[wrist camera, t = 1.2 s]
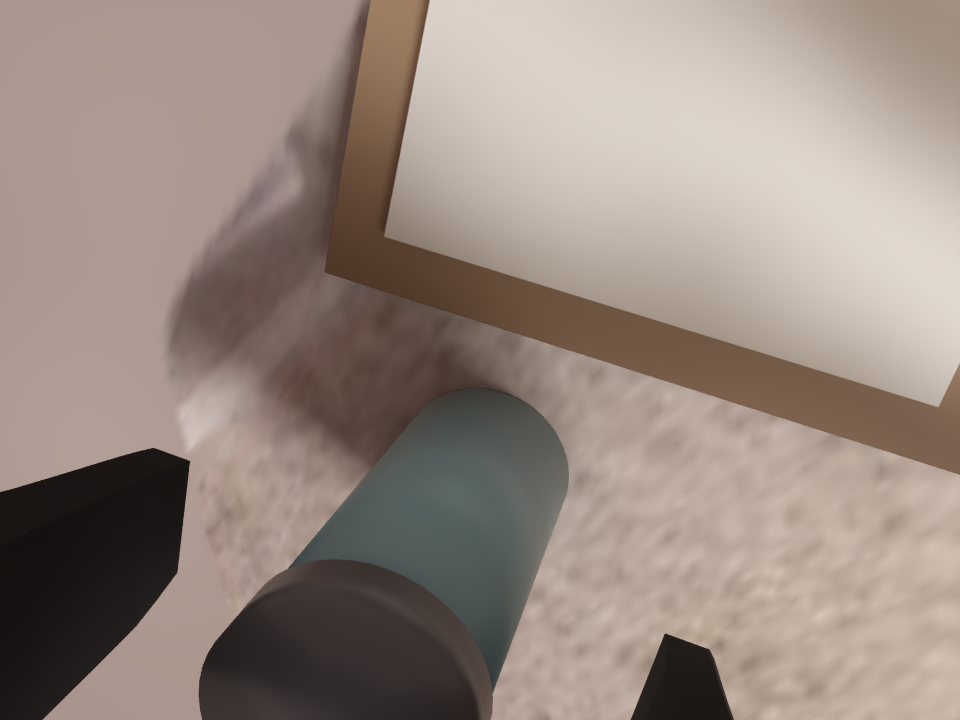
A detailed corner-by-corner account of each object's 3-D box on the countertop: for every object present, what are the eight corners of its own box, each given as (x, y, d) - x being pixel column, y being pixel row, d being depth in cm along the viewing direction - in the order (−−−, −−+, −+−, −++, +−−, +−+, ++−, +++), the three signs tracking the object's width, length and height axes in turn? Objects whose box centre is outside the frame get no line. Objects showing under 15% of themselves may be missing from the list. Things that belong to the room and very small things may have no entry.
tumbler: (547, 571, 17) (436, 888, 11) (383, 513, 18) (185, 781, 11) (596, 417, 16) (501, 674, 10) (418, 359, 16) (215, 565, 10)
